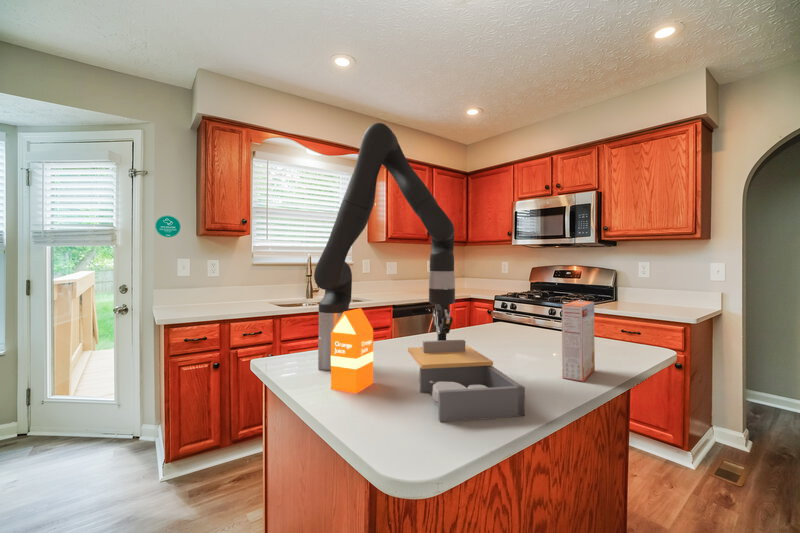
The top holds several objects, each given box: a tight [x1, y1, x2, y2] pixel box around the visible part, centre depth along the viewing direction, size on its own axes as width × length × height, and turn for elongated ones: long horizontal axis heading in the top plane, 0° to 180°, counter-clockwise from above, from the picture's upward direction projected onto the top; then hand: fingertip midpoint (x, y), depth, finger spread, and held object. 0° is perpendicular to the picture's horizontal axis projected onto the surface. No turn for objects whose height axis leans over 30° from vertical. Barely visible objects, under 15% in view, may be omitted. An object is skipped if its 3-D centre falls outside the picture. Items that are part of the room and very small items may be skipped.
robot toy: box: [429, 381, 488, 404], centre depth 84 cm, size 12×4×15 cm
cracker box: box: [561, 300, 596, 383], centre depth 107 cm, size 14×6×21 cm, turn 141°
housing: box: [419, 365, 526, 423], centre depth 85 cm, size 18×18×6 cm
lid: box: [407, 339, 494, 369], centre depth 101 cm, size 18×18×4 cm
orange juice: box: [330, 308, 374, 394], centre depth 97 cm, size 8×9×20 cm
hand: (441, 346), depth 107 cm, fingers closed
